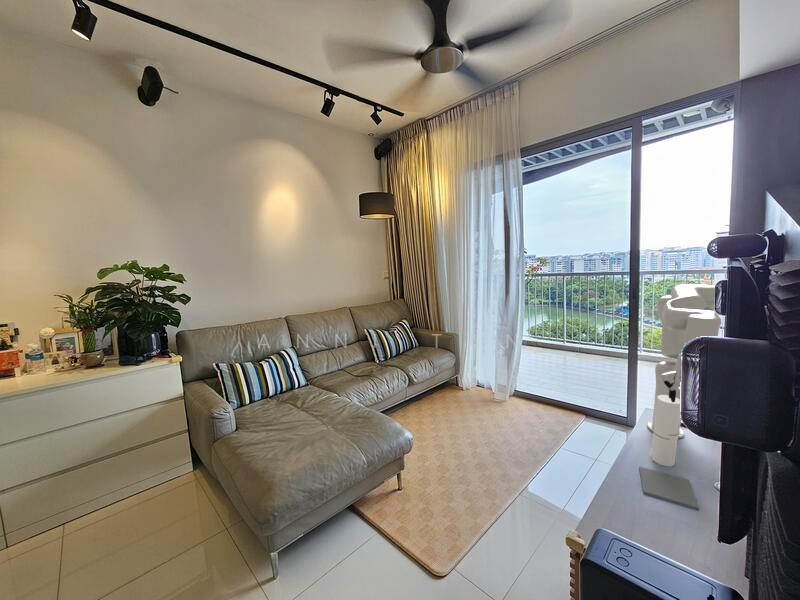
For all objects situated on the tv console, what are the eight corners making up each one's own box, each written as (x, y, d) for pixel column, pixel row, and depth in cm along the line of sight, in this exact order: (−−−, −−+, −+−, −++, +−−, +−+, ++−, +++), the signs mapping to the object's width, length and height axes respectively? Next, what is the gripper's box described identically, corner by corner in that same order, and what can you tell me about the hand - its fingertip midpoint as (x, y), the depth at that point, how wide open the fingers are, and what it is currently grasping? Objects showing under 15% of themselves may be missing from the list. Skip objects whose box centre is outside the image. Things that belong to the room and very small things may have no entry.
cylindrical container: (678, 467, 121) (687, 404, 117) (657, 465, 123) (664, 403, 118) (667, 455, 128) (674, 395, 124) (646, 453, 130) (653, 394, 125)
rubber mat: (639, 468, 121) (639, 466, 121) (688, 481, 114) (688, 479, 114) (643, 493, 109) (643, 491, 109) (698, 509, 102) (699, 507, 102)
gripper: (732, 353, 102) (724, 404, 105) (661, 346, 110) (656, 393, 114) (740, 362, 95) (732, 415, 99) (665, 353, 104) (659, 403, 107)
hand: (691, 403), depth 106 cm, fingers open, 9 cm apart
